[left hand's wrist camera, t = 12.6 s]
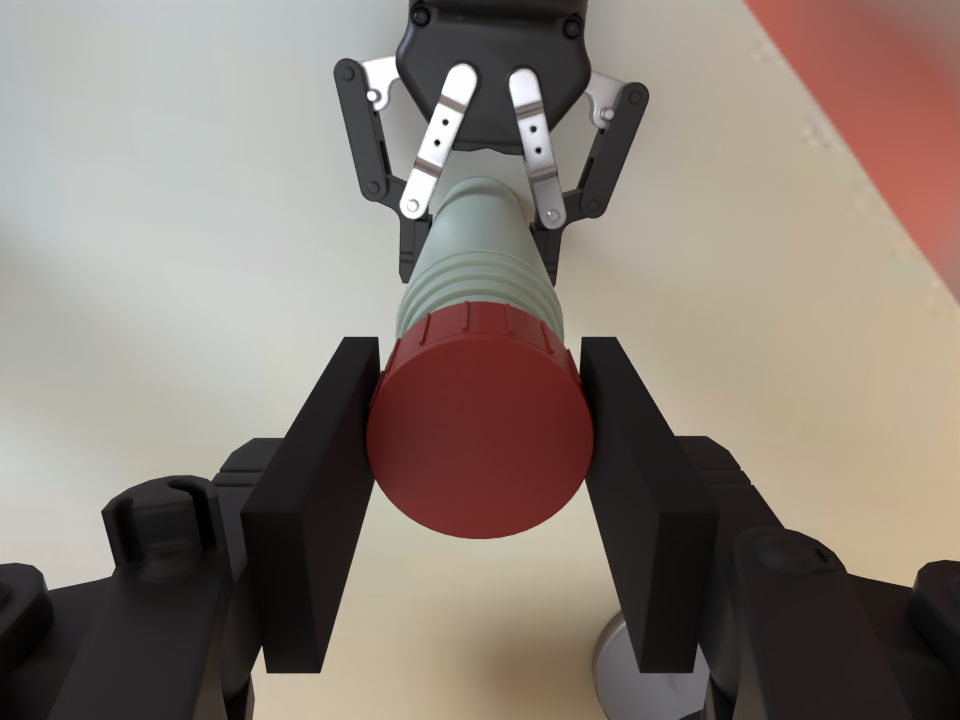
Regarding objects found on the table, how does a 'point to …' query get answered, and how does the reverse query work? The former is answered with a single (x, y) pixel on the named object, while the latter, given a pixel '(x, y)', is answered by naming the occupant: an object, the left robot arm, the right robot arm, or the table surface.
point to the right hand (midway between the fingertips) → (476, 294)
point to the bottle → (480, 258)
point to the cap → (479, 422)
